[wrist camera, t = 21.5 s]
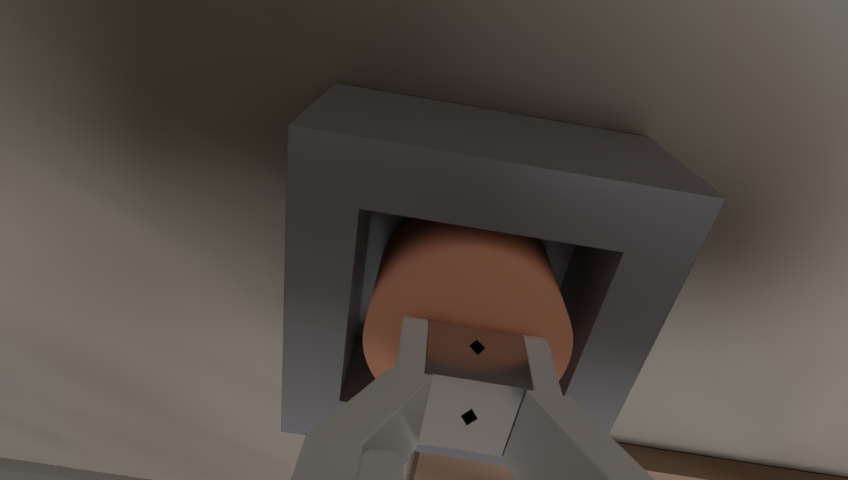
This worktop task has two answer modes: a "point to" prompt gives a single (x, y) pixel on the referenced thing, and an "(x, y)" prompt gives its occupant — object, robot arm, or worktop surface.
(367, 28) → the worktop surface
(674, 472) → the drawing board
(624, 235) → the button box
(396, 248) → the button
